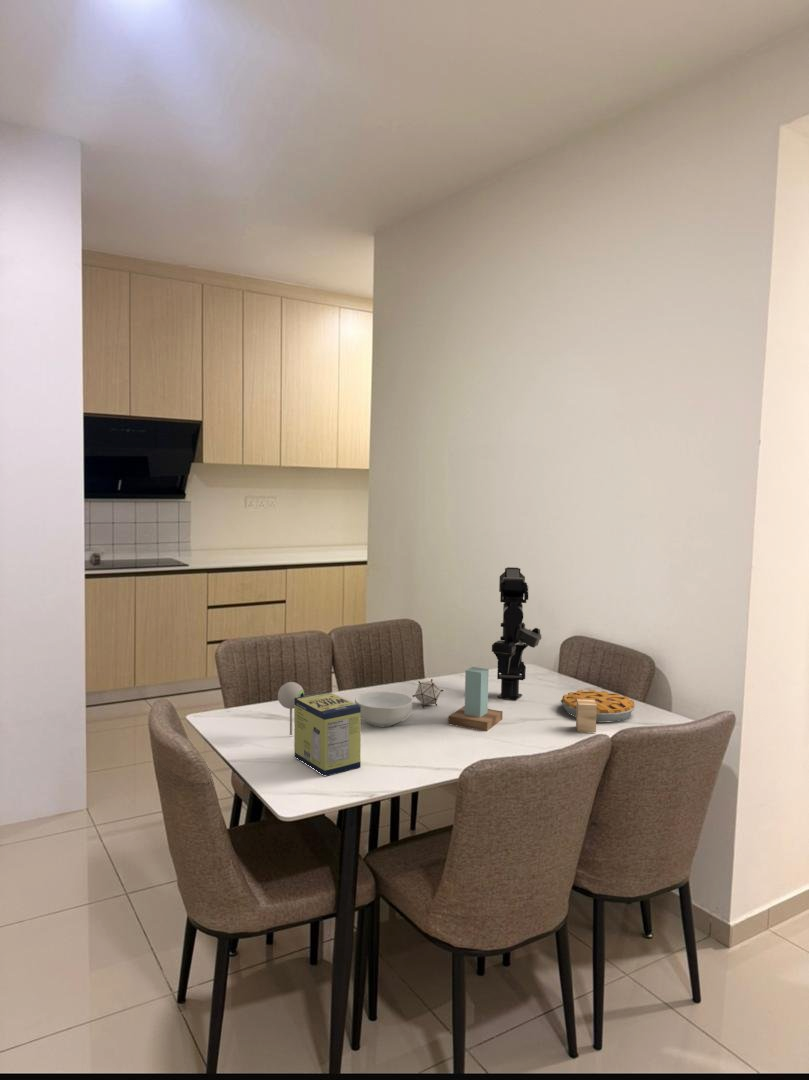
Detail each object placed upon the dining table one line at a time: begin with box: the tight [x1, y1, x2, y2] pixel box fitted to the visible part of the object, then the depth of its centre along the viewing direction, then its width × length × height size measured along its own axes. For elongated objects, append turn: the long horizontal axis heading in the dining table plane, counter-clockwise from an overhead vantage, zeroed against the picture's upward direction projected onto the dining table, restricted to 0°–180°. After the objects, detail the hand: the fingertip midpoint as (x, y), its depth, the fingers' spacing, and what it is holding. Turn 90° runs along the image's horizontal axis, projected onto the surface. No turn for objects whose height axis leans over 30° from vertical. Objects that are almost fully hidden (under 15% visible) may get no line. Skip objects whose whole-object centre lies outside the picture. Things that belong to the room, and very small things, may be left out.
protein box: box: [293, 691, 362, 776], centre depth 187 cm, size 10×16×16 cm
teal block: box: [464, 666, 489, 717], centre depth 220 cm, size 5×5×13 cm
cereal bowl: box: [354, 691, 413, 727], centre depth 219 cm, size 17×17×7 cm
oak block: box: [575, 699, 597, 733], centre depth 214 cm, size 5×5×8 cm
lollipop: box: [277, 681, 305, 736], centre depth 205 cm, size 7×7×15 cm
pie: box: [560, 689, 636, 722], centre depth 231 cm, size 22×22×5 cm
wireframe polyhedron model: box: [412, 678, 444, 709], centre depth 235 cm, size 9×8×10 cm
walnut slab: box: [447, 705, 503, 732], centre depth 221 cm, size 12×12×3 cm
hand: (511, 670), depth 228 cm, fingers open, 9 cm apart
